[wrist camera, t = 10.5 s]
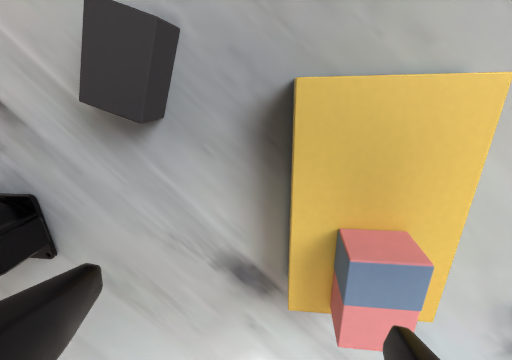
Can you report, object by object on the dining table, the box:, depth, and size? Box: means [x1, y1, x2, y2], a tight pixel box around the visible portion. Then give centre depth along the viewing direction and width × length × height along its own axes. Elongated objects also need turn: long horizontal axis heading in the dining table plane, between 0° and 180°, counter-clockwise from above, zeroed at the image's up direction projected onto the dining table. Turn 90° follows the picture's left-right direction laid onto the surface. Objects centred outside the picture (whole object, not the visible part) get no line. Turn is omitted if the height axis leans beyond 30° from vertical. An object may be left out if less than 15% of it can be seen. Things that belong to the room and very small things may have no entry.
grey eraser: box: [79, 0, 180, 123], centre depth 15 cm, size 6×4×3 cm
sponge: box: [288, 72, 512, 322], centre depth 17 cm, size 16×10×3 cm, turn 1°
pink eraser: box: [330, 229, 434, 351], centre depth 15 cm, size 6×4×3 cm, turn 1°
